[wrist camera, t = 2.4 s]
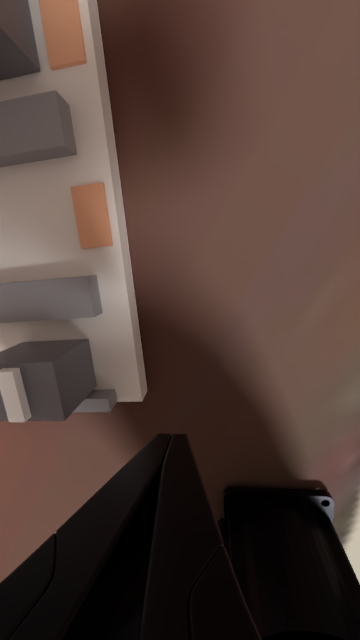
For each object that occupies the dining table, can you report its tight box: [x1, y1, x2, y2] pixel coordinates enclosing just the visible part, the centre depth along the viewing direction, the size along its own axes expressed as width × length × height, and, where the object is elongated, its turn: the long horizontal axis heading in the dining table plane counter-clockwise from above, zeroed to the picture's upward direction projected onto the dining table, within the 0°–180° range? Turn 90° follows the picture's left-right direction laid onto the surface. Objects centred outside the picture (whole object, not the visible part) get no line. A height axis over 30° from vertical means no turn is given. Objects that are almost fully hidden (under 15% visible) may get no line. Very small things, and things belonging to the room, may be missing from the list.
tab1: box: [0, 339, 97, 422], centre depth 13 cm, size 4×3×4 cm
